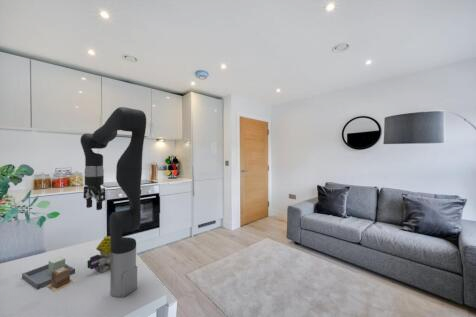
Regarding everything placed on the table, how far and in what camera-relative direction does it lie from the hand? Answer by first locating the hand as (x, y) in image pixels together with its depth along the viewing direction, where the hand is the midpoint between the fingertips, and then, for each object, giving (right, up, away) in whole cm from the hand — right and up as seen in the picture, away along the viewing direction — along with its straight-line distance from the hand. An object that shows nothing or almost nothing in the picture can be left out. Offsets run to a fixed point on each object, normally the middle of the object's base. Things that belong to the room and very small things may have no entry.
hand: (94, 208), depth 96 cm
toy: (+4, -30, 0) cm, 31 cm away
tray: (-17, -30, -5) cm, 35 cm away
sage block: (-16, -29, -3) cm, 33 cm away
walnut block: (-6, -30, -11) cm, 32 cm away
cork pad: (-6, -30, -11) cm, 33 cm away
